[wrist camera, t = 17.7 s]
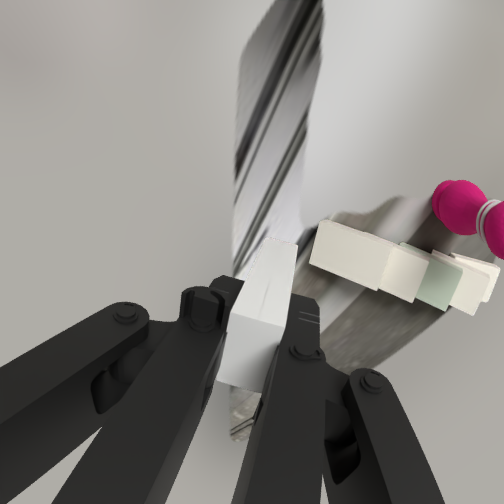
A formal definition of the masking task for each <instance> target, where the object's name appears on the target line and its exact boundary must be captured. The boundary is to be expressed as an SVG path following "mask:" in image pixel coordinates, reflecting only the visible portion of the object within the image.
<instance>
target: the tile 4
mask: <svg viewBox="0 0 504 504" xmlns="http://www.w3.org/2000/svg"><path fill="white" fill-rule="evenodd" d="M432 255H434V256H436V257H438V258H441V259H443V260H445V261H447V262H449V263H452V264H454V265H456V266H458V267H460V268H462V269H463V274H462V276H461V279H460V281H459V283H458V286H457V288H456V290H455V292H454V295H453V297H452V299H451V301H450V303H449V305H451V306H453V307H455V308H457V309H459V310H462V311H463V312H466V313H468V314H470V315H472V316H474V314H475V312H476V310H477V308H478V306H479V303H480V301H481V299H482V297H483V295H484V293H485V291H486V288H487V286H488V284H489V281H490V276H489V274H486V273H484V272H482V271H480V270H478V269H476V268H474V267H472V266H469V265H467V264H465V263H463V262H461V261H458V260H456V259H454V258H452V257H450V256H447V255H445V254H443V253H440V252H438V251H436V250H434V249H433V251H432Z"/></svg>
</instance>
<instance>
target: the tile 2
mask: <svg viewBox="0 0 504 504" xmlns="http://www.w3.org/2000/svg"><path fill="white" fill-rule="evenodd" d="M364 233H367V232H364ZM367 234H370V233H367ZM370 235H372V234H370ZM372 236H375V235H372ZM375 237H377V236H375ZM378 238H380V237H378ZM381 239H382V238H381ZM383 240H385V239H383ZM386 241H387V240H386ZM389 242H390V241H389ZM391 243H392V242H391ZM429 261H430V258H429V257H426V256H424V255H422V254H419V253H417V252H414V251H412V250H410V249H407V248H405V247H402V246H400V245H397V244H395V243H394V247H393V250H392V253H391V256H390V259H389V262H388V265H387V268H386V271H385V274H384V277H383V279H382V282H381V285H380V287H379V289H381V290H383V291H386V292H388V293H390V294H392V295H395V296H397V297H399V298H401V299H404V300H406V301H408V302H410V303H413V301H414V298H415V296H416V294H417V291H418V289H419V287H420V284H421V282H422V279H423V277H424V274H425V272H426V269H427V267H428V264H429Z"/></svg>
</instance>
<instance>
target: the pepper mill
mask: <svg viewBox="0 0 504 504" xmlns="http://www.w3.org/2000/svg"><path fill="white" fill-rule="evenodd" d="M432 208H433V211H434V213H435V215H436V217H437V218H438V219H439V220H441V221H442V222H443V224H444V225H445V226H446V227H447V228H448V229H449V230H450V231H452V232H454V233H456V234H459V235H472V234H476V233H478V236H479V237H480V239H481V240H482V241H483V242H484V243H486V244H487V245H488V247H489V248H490V250H491V252H492V253H493V254H494V255H496V256H497V257H499V258H501V259H503V260H504V201H503V202H502V201H499V200H489V201H488V200H487V199H486V197H485V195H484V194H483V192H482V191H481V190H480V189H479V188H478V187H477V186H476V185H474V184H473V183H471V182H469V181H466V180H457V181H452V180H448V181H444V182H442V183H441V184H439V185H438V186H437V188H436V189H435V191H434V193H433V197H432Z"/></svg>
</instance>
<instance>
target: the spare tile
mask: <svg viewBox="0 0 504 504" xmlns="http://www.w3.org/2000/svg"><path fill="white" fill-rule="evenodd" d="M399 245H400V246H402V247H405V248H407V249H410V250H412V251H414V252H417V253H419V254H422V255H424V256H426V257H429V258H430V261H429V264H428V267H427V269H426V272H425V274H424V277H423V279H422V282H421V284H420V287H419V289H418V291H417V294H416V296H415V298H417V299H420V300H422V301H424V302H426V303H428V304H430V305H432V306H434V307H436V308H439V309H441V310H443V311H445V312H446V310H447V307H448V305H449V303H450V301H451V299H452V297H453V295H454V292H455V290H456V288H457V286H458V283H459V281H460V279H461V276H462V274H463V269H462V268H460V267H458V266H456V265H454V264H452V263H449V262H447V261H445V260H443V259H441V258H438V257H436V256H434V255H432V254H429V253H427V252H425V251H423V250H420V249H418V248H416V247H413V246H411V245H409V244H406V243H404V242H401V243H400V244H399Z"/></svg>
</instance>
